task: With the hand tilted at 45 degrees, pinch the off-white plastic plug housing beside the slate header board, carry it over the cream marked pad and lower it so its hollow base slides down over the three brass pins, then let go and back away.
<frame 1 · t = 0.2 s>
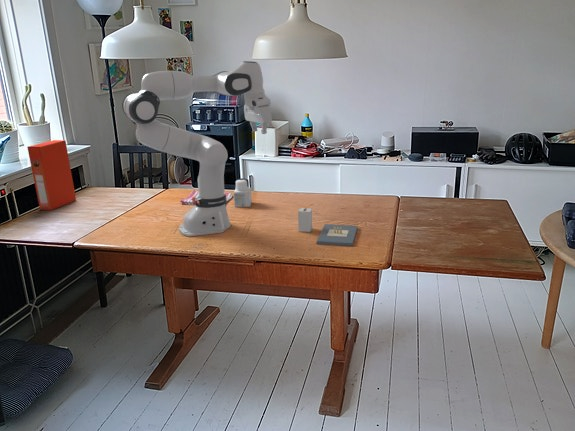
hand: (259, 132, 221), 39 cm above the table, tool pointing down, fingers open, 8 cm apart
plug housing: (305, 230, 216), on the table
dish towel: (207, 201, 262), on the table
container: (243, 205, 253), on the table
header board: (337, 235, 208), on the table
file binder: (58, 205, 263), on the table
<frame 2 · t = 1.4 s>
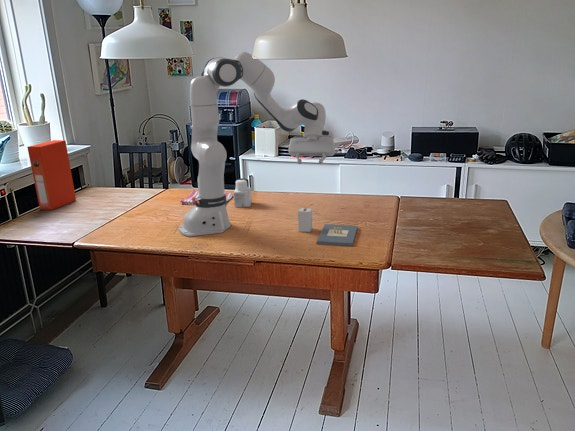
hand: (309, 163, 219), 26 cm above the table, tool tilted 45°, fingers open, 8 cm apart
nothing on the table moved.
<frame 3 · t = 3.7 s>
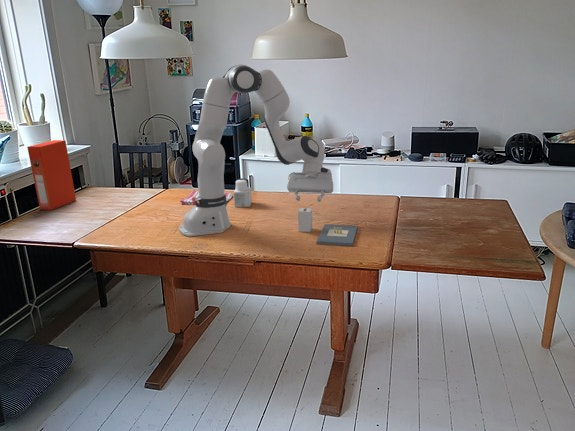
hand: (308, 200, 219), 11 cm above the table, tool tilted 45°, fingers open, 8 cm apart
nothing on the table moved.
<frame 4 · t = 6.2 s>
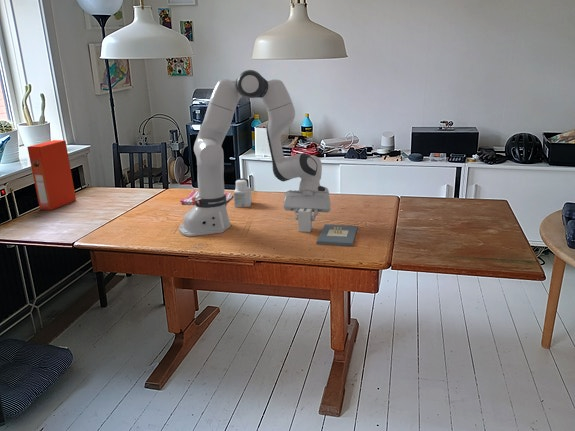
hand: (304, 219, 214), 5 cm above the table, tool tilted 45°, fingers closed on plug housing, 5 cm apart
plug housing: (305, 230, 216), on the table, touching gripper
everything else where it was.
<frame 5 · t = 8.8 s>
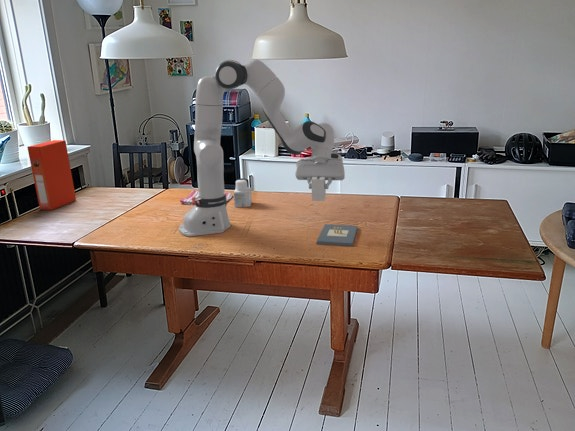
hand: (318, 188, 206), 19 cm above the table, tool tilted 45°, fingers closed on plug housing, 5 cm apart
plug housing: (318, 199, 208), point 14 cm above the table, touching gripper
everything else where it was.
when the fingers open (6 cm above the table, at t = 11.8 s): plug housing stays where it is, resting on header board.
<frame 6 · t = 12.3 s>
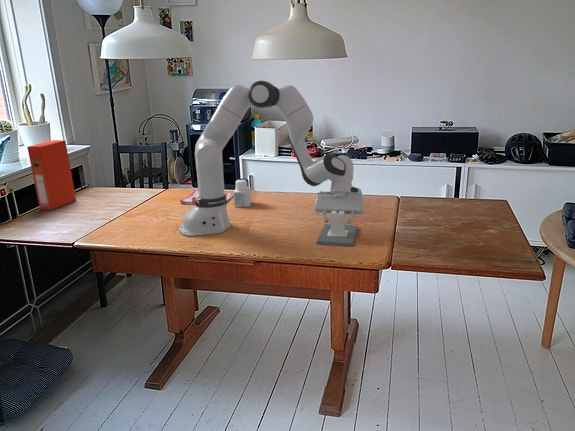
hand: (337, 222, 205), 6 cm above the table, tool tilted 45°, fingers open, 8 cm apart
plug housing: (337, 232, 208), point 1 cm above the table, touching header board
everything else where it was.
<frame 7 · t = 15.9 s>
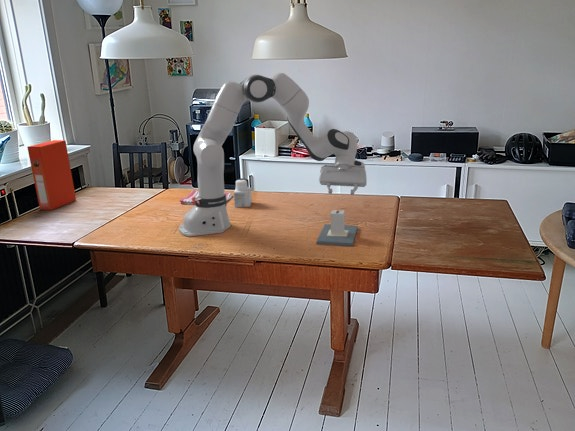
hand: (341, 193, 215), 14 cm above the table, tool tilted 45°, fingers open, 8 cm apart
nothing on the table moved.
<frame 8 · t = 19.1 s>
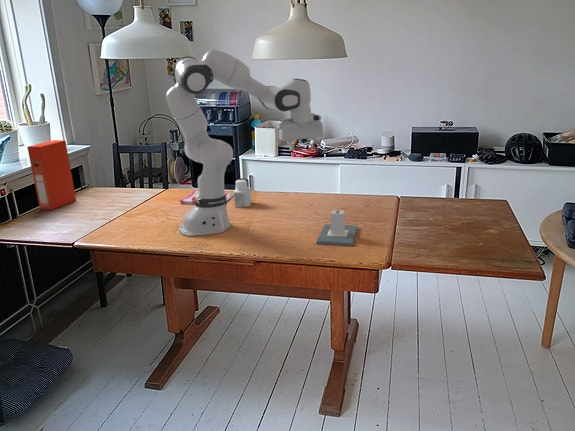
hand: (301, 149, 224), 31 cm above the table, tool pointing down, fingers open, 8 cm apart
nothing on the table moved.
at the end: plug housing 0.1 cm from the header board (horizontally); plug housing point 1.3 cm above the table; plug housing tilted 0° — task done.
